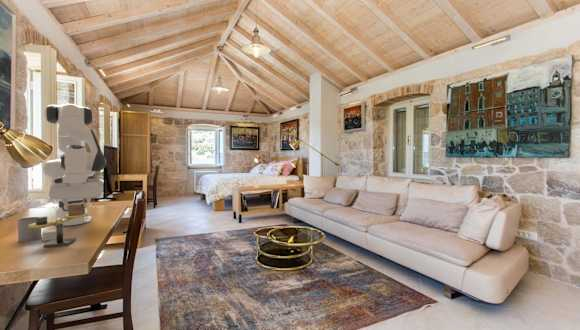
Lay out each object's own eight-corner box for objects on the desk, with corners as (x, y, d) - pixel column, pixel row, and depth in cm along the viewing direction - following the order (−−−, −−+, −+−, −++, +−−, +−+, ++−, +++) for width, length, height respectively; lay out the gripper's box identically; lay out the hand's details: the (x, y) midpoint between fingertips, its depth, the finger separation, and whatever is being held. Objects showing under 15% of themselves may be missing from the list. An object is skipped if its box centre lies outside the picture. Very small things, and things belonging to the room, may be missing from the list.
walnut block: (72, 213, 134) (72, 203, 134) (84, 212, 136) (84, 202, 136) (68, 215, 129) (68, 205, 129) (81, 214, 131) (81, 204, 131)
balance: (34, 243, 131) (34, 214, 130) (91, 238, 139) (91, 212, 138) (24, 249, 122) (23, 218, 122) (85, 244, 130) (84, 215, 130)
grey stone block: (43, 238, 139) (43, 230, 138) (56, 237, 142) (56, 229, 141) (42, 241, 135) (42, 233, 134) (55, 239, 138) (55, 231, 138)
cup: (27, 241, 133) (26, 221, 133) (13, 240, 134) (13, 220, 134) (45, 236, 141) (45, 217, 141) (32, 235, 143) (32, 216, 142)
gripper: (104, 178, 139) (104, 205, 139) (53, 178, 131) (53, 207, 132) (100, 179, 133) (100, 207, 133) (47, 180, 126) (47, 210, 126)
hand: (76, 207), depth 132 cm, fingers open, 6 cm apart
